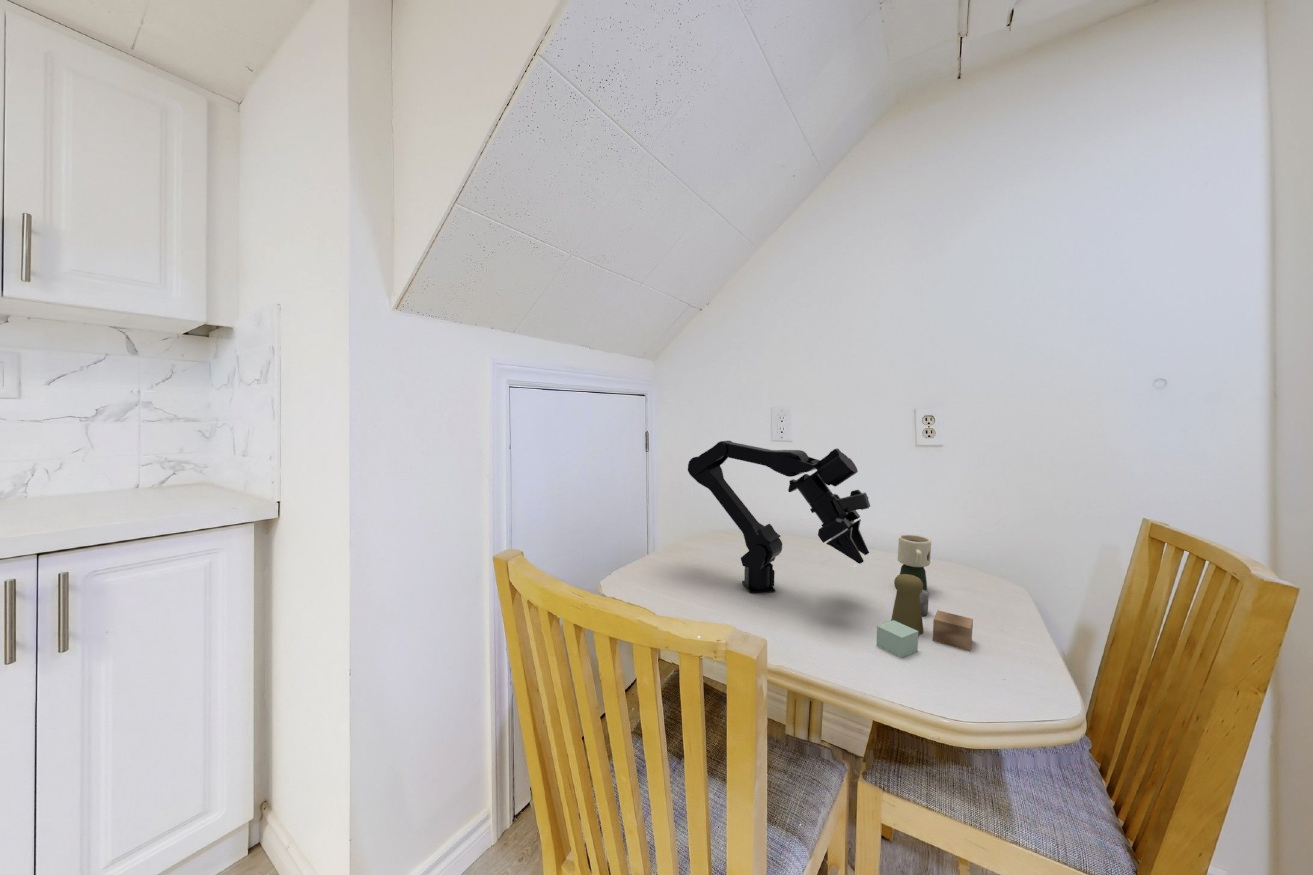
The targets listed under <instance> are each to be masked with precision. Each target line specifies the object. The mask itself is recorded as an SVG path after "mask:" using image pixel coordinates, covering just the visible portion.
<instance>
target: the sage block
mask: <svg viewBox="0 0 1313 875" xmlns="http://www.w3.org/2000/svg"><path fill="white" fill-rule="evenodd" d="M875 642H876V646H877V647H878V648H880V647H881V648H880V649H883V650H885V651H886V650H887V651H886V652H888V653H890V654H892V655H894V656H896V657H897V658H901V659H902V658H904V657H908V656H909V655H911V654H914V653H916V652H918V647H919V635H918V631H917V630H915V629H912V628H910V627H908V626H906V625H903V624H901V623H899V622H897V621H894V620H893V621H891V620H890V621H888V622H885V623H882V624H880V625H877V626H876V641H875Z"/></svg>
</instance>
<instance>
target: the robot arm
mask: <svg viewBox="0 0 1313 875" xmlns="http://www.w3.org/2000/svg"><path fill="white" fill-rule="evenodd" d="M728 458H729V459H733V460H734V459H735V460H739V461H743V462H748V463H751V464H756V465H761V466H765V467H767V468H769V469H771V470H772V471H774V472H776V473H778V474H780V475H783V476H785V477H791V478H792V477H796V476H799V475H801V474H803V475H802V476H800V477H798V479H790V480H789V482H788V483H789V486H788V490H787V491H788V493H792V492H794V491H797V490H798V491H799V494H801V496H802V497H803V498H804V500H805V501H806V502H807V504H808V505H809V507H810V509H809V510H810V511H811V513H812V514H815V515H816V516H817V518H818V519H819V520H820V522H821V527H820V528H819V529H818V532H817V536H818V538H819V539H820V541H821V542H822V543H825V542H826V543H825V544H826V545H827V546H830V547H831V548H833V549H835V550H837V551H838V552H840V553H842V554H843V555H845V556H847V557H848V558H850V559H851V560H853V561H855V562H856V563H857V564H859V565H860V564H862V563H864V562H865V560H864V558H863V556H862V555H861V554H863V555H864V556H867V555H869V554H870V551H869V549H868V546H867V544H866V542H865V540H864V538H863V536H862V533H861V530H860V526H861V521H862V520H861V519H860V518H861V515H860V514H859V512H858V510H861V511H862V510H867V509H869V508H870V507H871V504H870V503H871V502H870V500H869V496H868V494H867V492H862V491H861V490H859V489H855V490H851V491H850V495H849V496H845V497H840V496H839V495H838V494H837V493H833V492H832V491H831V490H830V488H829V486H833V487H838V486H839V485H841V484H843V483H844V482H845V481H846V480H848V479H850V478H851V477H852V476H854V475H856V474H857V473H858V467H857V466H856V464H855V463H854V461H853V460H852V458H850V457H848V456H847V455H846V454H845V453H843V452H842V451H841V450H840V449H839V448H837V447H836V448H833V449H832V450H831V451H829V453H828V454H827V455H825V456H824V457H823V458H821V459H816V458H814V457H811V456H809V455H808V454H807V453H806V451H804V450H801V449H778V450H777V449H768V448H764V447H763V448H762V447H757V446H753V445H748V444H745V443H744V444H743V443H739V442H734V441H732V440H721V441H718V442H717V443H716V444H714V445H713V446H712V447H711V448H709V449H707V450H706V451H705V452H702V453H701V454H699V456H693V457H692V458H690V460H689V461H688V464H687V472H688V474H689V475H690V477H691V478H693V480H695V481H696V482H697V483H698V484H699V485H701V486H703V487H705V488H707V489H708V490H709V492H711V494H712V495H713V496H714V497H715V499H716V500H717V502H718V503H719V504H720V505H721V507H722V508H723V509H724V511H725V512H726V513H727V514H728V516H729V517H730V519H732V521H733V522H734V524H735V525H736V526H737V528H738V529H739V530H740V531H741V533H742V534H743V538H744V543H745V547H746V548H747V550H748V551H747V552H746V553H744V554H743V555H742V556H741V557H740V561H741V564H742V567H744V577H743V578H744V579H743V580H742V581H741V583H742V585H743V586H744V587H745V588H746V590H747V591H748V593H750V594H755V593H756V594H757V593H770V592H772V593H774V592H776V589H775V570H774V569H773V567H774V564H773V563H772V562H774V561H775V559H776V557H778V556H779V555H781V553H782V551H783V542H782V540H781V539H780V538H781V535H780V534H779V533H778V532H776V530H775V528H774V527H773V525H772V524H771V523H768V524H766V525H764V524H762V523H761V522H759V521H758V520H757V519H756V517H755V516H754V515H753V514H752V512H750V509H748V507H747V506H746V505H745V503H744V502H743V500H741V498H740V497H739V496H738V495H737V493H736V492H735V491H734V490H733V488H732V487H731V486H730V485H729V483H728V482H727V480H725V477H724V473H723V469H722V467H721V465H723V464H724V463H725V462H726V460H728ZM814 470H816V471H815V472H814V473H812V474H808V472H812V471H814Z"/></svg>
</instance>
